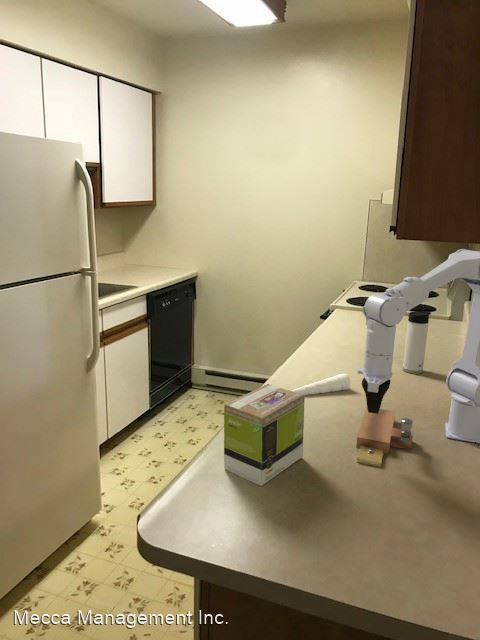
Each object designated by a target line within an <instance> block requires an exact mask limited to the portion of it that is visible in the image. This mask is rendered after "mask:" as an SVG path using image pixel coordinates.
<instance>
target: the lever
mask: <svg viewBox="0 0 480 640" xmlns="http://www.w3.org/2000/svg"><path fill="white" fill-rule="evenodd" d="M400 421H401V422H400V427H401V429H402V430H401V441H406V442H410V437H411V431H412V430H411V429H412V428H413V420H412V419H410V418H406V417H405V418H403V417H402V418H401V420H400Z"/></svg>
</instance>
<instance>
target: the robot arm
mask: <svg viewBox="0 0 480 640" xmlns="http://www.w3.org/2000/svg"><path fill="white" fill-rule="evenodd" d="M456 279H460V280H461V281H463V282H465V283H466V284H467V286H468V287H470V289H471V290H472V292H473V298H472V302H471V303H472V304H471V308H470V313H469V318H468V325H467V328H466V329H467V330H466V335H465V341H464V345H463V349H462V355H461V358H458V359H457V360H455V361H453V362H452V363H451V368H450V370H449V373H448V374H447V376H446V381H445V386H446V387H447V390H449V396H450V397H451V403H450V409H449V416H448V422H445V424H444V426H445V437H446V438H448V439H453V440H458V441H463V442H464V441H465V442H470V443H471V442H472V443H475V442H476V443H475V444H480V251H478V250H471V249H467V248H466V249H465V248H461V249H458V250H456V251H455V252H453V253H450V254H449V255H448V258H447V259H445V261H444V262H442V263H440V264H439V265H437V266H435V268H433V269H431V270H430V271H429V272H427V273H426V274H424V275H423V276H421V277H417V276H406V277H404V278H403V281H402V282H400V283H398V284H396V285H395V286H393V287H390V288H387V289H385V291H384V292H383V293H374V294H372V295H370V296H369V297H368V298H367V299H366V301H365V304H364V306H362V314H363V316H364V317H365V325H366V338H365V346H364V347H365V348H364V359H363V361H364V362H363V367H358V368H357V374H360V375H362V376H363V378H362V380H361V387H362V389H363V391H364V395H365V400H366V408H367V409H368V412H369V413H375V414H378V412H379V410H380V409H381V407H382V403H383V399H384V397H385V395H386V393H387V391H388V390H389V389H390V385H391V381H392V380H391V379H392V378H393V371H392V370H393V369H392V368H393V359H394V349H395V341H396V330H397V325H399V324H400V323H401V322H402V320H403V318H404V316H405V315H406V314H407V313H408V312H409V311H410V310H412V309H414V308H415V307H417V306H419V305H421V304H422V303H424V302H426V301H427V300H428V298H429V294H430V292H432V291H435V290H436V289H438V288H440V287H443V286H445V285H446V284H448V283H451V282H453V281H454V280H456Z"/></svg>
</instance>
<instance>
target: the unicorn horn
mask: <svg viewBox="0 0 480 640" xmlns="http://www.w3.org/2000/svg"><path fill="white" fill-rule="evenodd" d="M351 382H352V381H351V378H350V376H349V375H348V374H347V373H340V374H337V375H333V376H332V377H331V376H330V377H327V378H324V379H322V380H319V381H315V382H312V383H309V384H306V385H302V386H300V387H298V388H295V389H291V390H290V391H293V392H296V393H300V394H303V395H305V396H308V395H309V396H311V395H318V394H324V393H325V394H326V393H327V394H328V393H330V392H331V393H333V392H340V391H346V390H349V389H350V388H351V386H352V385H351Z"/></svg>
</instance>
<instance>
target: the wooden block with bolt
mask: <svg viewBox="0 0 480 640" xmlns="http://www.w3.org/2000/svg"><path fill="white" fill-rule="evenodd" d="M383 451H384V450H383V449H378V448H373V447H367V446H362V445H360V448H358V453H357V456H356V463H358V464H364V465H369V466H375V467H378V468H381V467H382V462H383V458H384V457H383V456H384V452H383Z"/></svg>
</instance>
